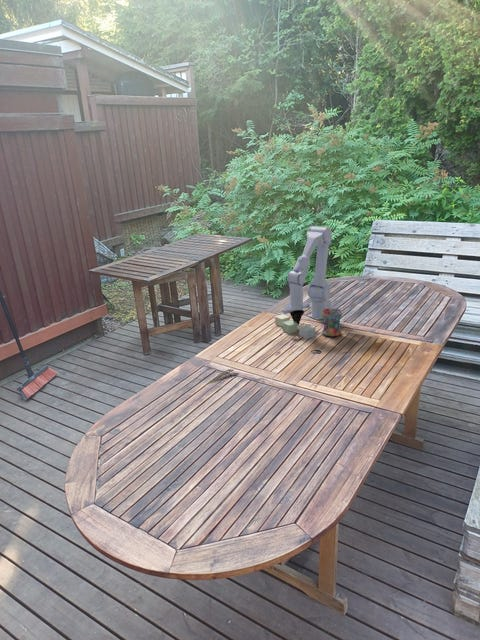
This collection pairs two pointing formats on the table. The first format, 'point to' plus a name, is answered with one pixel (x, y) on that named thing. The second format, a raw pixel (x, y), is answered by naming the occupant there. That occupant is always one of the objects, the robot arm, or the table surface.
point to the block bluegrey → (307, 331)
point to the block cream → (281, 319)
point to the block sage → (290, 326)
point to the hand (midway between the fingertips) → (296, 325)
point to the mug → (331, 321)
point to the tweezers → (223, 376)
